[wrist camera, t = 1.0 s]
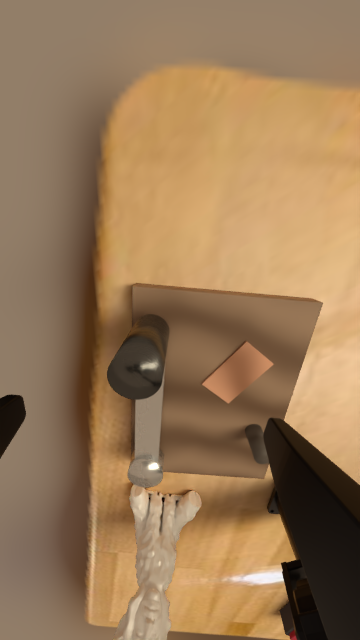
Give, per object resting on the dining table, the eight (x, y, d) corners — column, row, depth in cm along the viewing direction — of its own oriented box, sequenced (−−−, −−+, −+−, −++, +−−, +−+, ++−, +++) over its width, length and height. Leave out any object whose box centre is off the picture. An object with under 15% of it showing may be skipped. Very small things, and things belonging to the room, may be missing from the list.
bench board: (259, 466, 26) (274, 509, 22) (134, 457, 26) (124, 499, 21) (312, 298, 18) (351, 313, 14) (136, 283, 18) (122, 294, 14)
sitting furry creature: (202, 489, 28) (215, 657, 16) (186, 526, 30) (189, 690, 19) (133, 477, 27) (98, 644, 16) (124, 516, 30) (89, 680, 19)
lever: (163, 469, 23) (155, 565, 16) (132, 466, 23) (110, 562, 16) (176, 310, 17) (172, 355, 10) (133, 306, 17) (97, 349, 10)
